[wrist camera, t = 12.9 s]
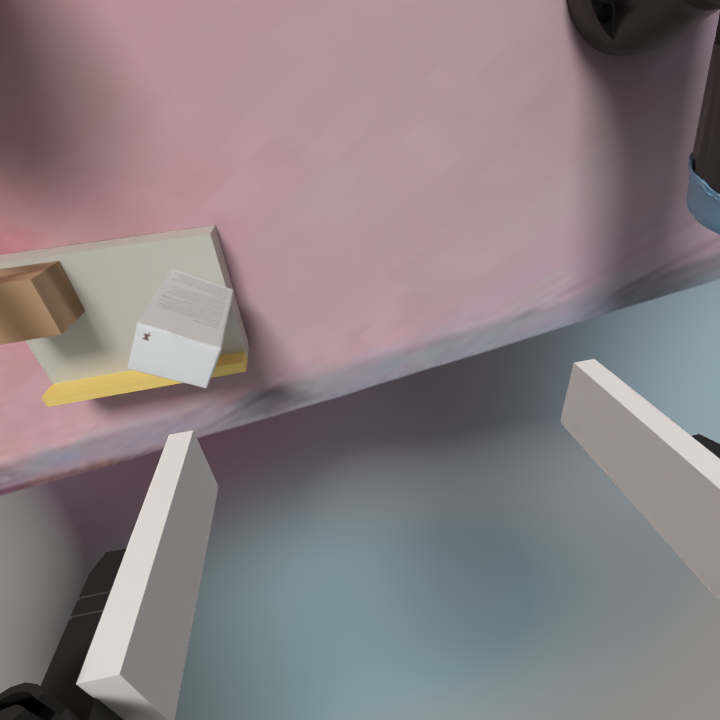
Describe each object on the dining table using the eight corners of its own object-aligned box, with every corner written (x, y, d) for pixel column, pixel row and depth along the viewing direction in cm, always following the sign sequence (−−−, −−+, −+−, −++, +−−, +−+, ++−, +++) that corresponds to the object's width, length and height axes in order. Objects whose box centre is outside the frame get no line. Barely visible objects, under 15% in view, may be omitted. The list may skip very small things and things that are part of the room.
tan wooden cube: (59, 260, 35) (30, 279, 31) (85, 310, 38) (61, 334, 34) (-1, 269, 35) (-38, 289, 31) (30, 319, 38) (-1, 344, 33)
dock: (215, 225, 39) (206, 240, 35) (249, 345, 47) (246, 371, 42) (1, 254, 37) (-41, 275, 32) (72, 375, 45) (47, 406, 40)
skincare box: (162, 305, 39) (122, 369, 29) (172, 266, 37) (135, 320, 27) (223, 325, 41) (207, 391, 31) (236, 289, 40) (223, 347, 30)
